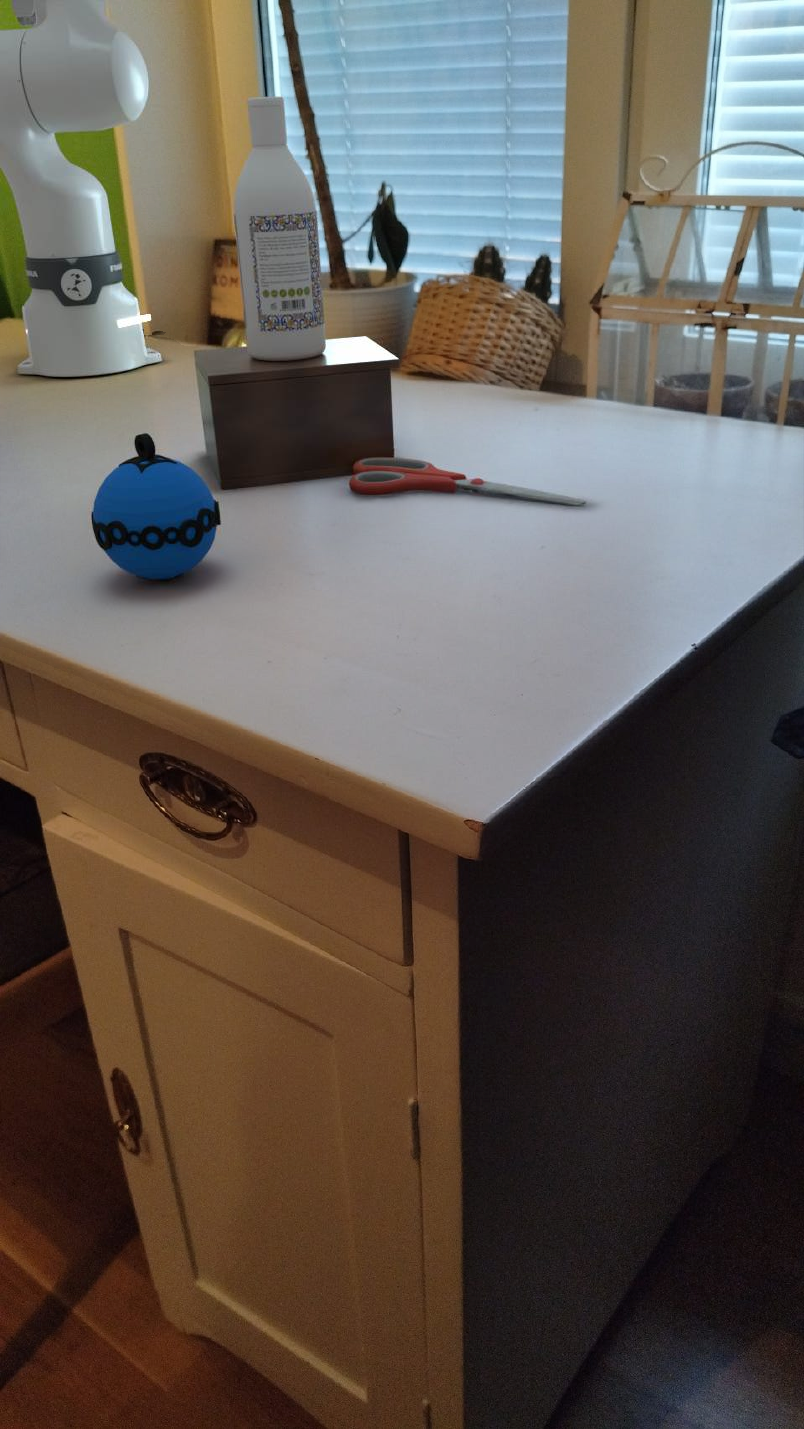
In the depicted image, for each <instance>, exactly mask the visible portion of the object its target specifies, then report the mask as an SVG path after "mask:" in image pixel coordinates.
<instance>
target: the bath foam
mask: <svg viewBox="0 0 804 1429" xmlns="http://www.w3.org/2000/svg"><path fill="white" fill-rule="evenodd" d="M247 112H248V121H249V134H250V142H251V146H252V147H251V150H250V152H249V154H248V156H247V159H246V161H245V163H244V165H243V167H242V169H241V171H240V174H239V177H238V179H237V182H236V183H237V184H236V185H235V190H234V191H235V192H234V196H233V224H234V232H235V240H236V241H235V242H236V251H237V252H236V253H237V262H238V272H239V281H240V292H241V300H242V310H243V320H244V329H245V338H246V346H247V348H248V353H249V355H250V356H251V357H253V358H255V359H258V360H265V361H292V360H301V359H307V358H312V357H315V356H318V355H320V354H322V353H323V352H324V351H325V348H326V341H325V340H326V327H325V311H324V309H325V308H324V296H323V294H324V293H323V280H322V267H321V266H322V265H321V253H320V238H319V224H318V222H319V221H318V210H317V205H316V199H315V195H314V192H313V188H312V186H311V183H310V181H309V179H308V177H307V174H306V173H305V172H304V170H303V169H302V166H301V165H300V163H299V162H298V161H297V159H296V158H295V156H294V155H293V153H292V151H291V150H290V149H289V147H288V145H287V144H288V136H287V123H286V122H287V120H286V108H285V99H284V97H283V96H259V97H257V96H255V97H249V98H248V99H247Z"/></svg>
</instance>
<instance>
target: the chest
mask: <svg viewBox="0 0 804 1429" xmlns="http://www.w3.org/2000/svg"><path fill="white" fill-rule="evenodd" d="M194 365H195V373H196V374H195V375H196V381H197V390H198V396H199V407H200V413H201V421H202V430H203V436H204V438H203V439H204V444H205V453H206V454H205V455H206V456H207V458H208V461H209V463H210V466H211V468H212V471H213V473H214V475H215V478H216V480H217V482H218V485H219V487H220V489H221V491H223V490H231V489H240V488H248V487H256V486H257V487H258V486H267V485H275V484H282V483H283V484H284V483H292V482H293V483H294V482H300V481H311V480H320V479H327V478H328V479H329V478H336V477H344V476H354V475H355V474H354V472H353V466H354V464H355V463H356V462H357V461H359V460H361V459H364V458H372V457H393V458H395V439H394V438H395V437H394V417H393V393H392V372H391V370H392V369H386V370H375V371H364V372H353V373H342V374H331V375H319V376H308V377H297V378H286V379H275V380H264V381H253V382H242V383H231V384H220V385H208V383H207V381H206V379H205V377H204V375H203V374H202V372H201V370H200V368H199V366H198V364H197V363H196V361H195V360H194Z"/></svg>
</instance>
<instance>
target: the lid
mask: <svg viewBox="0 0 804 1429" xmlns="http://www.w3.org/2000/svg"><path fill="white" fill-rule="evenodd" d="M325 341H326V348H325V351H324V352H323V353H322V354H320V355H318V356H315V357H312V358H307V359H301V360H292V361H265V360H258V359H255V358H253V357H251V356H250V355H249V353H248V348H247V345H245V346H234V347H233V346H232V347H224V348H222V347H221V348H212V349H211V348H210V349H199V350H197V349H196V350H193V358H194V362H195V361H196V363H197V364H198V366H199V368H200V370H201V372H202V374H203V375H204V377H205V379H206V381H207V383H208V385H220V384H231V383H242V382H253V381H264V380H275V379H286V378H297V377H308V376H319V375H331V374H342V373H353V372H364V371H375V370H386V369H390V370H394V369H397V370H398V369H400V359H399V358H398V357H396V355H394V354H392V353H391V352H389V350H386V349H385V348H384V347H382V346H381V345H379V344H377V343H376V342H375V341H373V340H372V339H370V338H369V337H368V336H355V337H354V336H353V337H342V338H331V339H325Z"/></svg>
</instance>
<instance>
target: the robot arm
mask: <svg viewBox="0 0 804 1429" xmlns="http://www.w3.org/2000/svg"><path fill="white" fill-rule="evenodd" d="M10 3H11V9H12V12H13V14H14V15H15V16H16V19H17V22H18V25H20V26H21V27H30V28H17V29H0V169H1V171H2V173H3V174H4V176H5V179H6V180H7V183H8V185H9V187H10V189H11V191H12V195H13V198H14V202H15V206H16V210H17V213H18V219H19V222H20V225H21V232H22V236H23V240H24V245H25V251H26V255H27V256H26V257H25V258H24V264H25V274H26V277H27V281H28V286H29V287H30V288H31V293H30V295H29V297H28V299H27V300H26V301H25V302H24V305H22V307H21V312H22V320H23V321H22V322H23V324H24V329H25V337H26V343H27V348H28V354H29V357H27V358H25V359H24V360H23V361H22V362H20V363H19V364H18V365H17V374H20V375H39V376H44V377H54V378H55V377H57V378H58V377H60V378H62V377H63V378H67V377H68V378H71V377H72V378H73V377H74V378H75V377H90V376H99V375H100V376H101V375H108V374H113V373H114V374H115V373H120V372H124V371H129V370H133V369H136V368H140V367H142V366H145V365H150V364H154V363H155V364H156V363H159V362H162V361H163V358H162V355H161V353H160V352H159V351H157V350H155V349H153V348H151V347H149V348H146V346H147V345H146V341H145V334H144V329H143V328H144V327H143V323H145V322H149V321H151V320H152V317H151V314H150V313H148V314H144V315H141V311H140V305H139V300H138V298H137V297H136V296H135V295H134V294H133V293H131V292H130V291H129V290H128V289H127V288H126V287H125V286H124V284H123V280H124V274H123V263H122V261H121V256H120V252H118V250H116V244H115V239H114V233H113V226H112V219H111V218H112V217H111V213H110V212H111V211H110V207H109V206H110V205H109V200H108V194H107V191H106V190H105V188H104V186H103V185H102V183H101V182H100V180H99V179H97V177H96V176H95V175H93V174H92V173H90V172H89V171H87V170H86V169H84V168H82V167H80V166H78V165H76V164H74V163H72V162H70V161H69V160H68V158H66V157H65V155H64V154H63V152H62V151H61V149H60V146H59V145H58V142H57V139H56V135H55V134H57V133H58V134H59V133H79V132H80V133H81V132H101V131H105V130H109V129H113V128H116V127H120V126H123V125H126V124H130V123H132V122H135V121H137V120H138V119H139V118H140V116H141V114H143V112H144V109H145V107H146V103H147V101H148V96H149V90H150V89H149V85H150V82H149V73H148V69H147V65H146V62H145V58H144V57H143V55H142V53H141V51H140V49H139V47H138V46H137V44H136V43H135V42H134V41H133V40H132V38H131V37H130V36H129V35H128V34H127V33H126V32H124V31H123V30H120V29H119V28H118V27H117V26H115V25H114V24H113V23H112V22H111V21H110V20H109V18H108V15H107V3H108V0H10ZM145 345H146V346H145ZM150 352H153V353H150ZM158 355H159V356H158Z"/></svg>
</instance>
